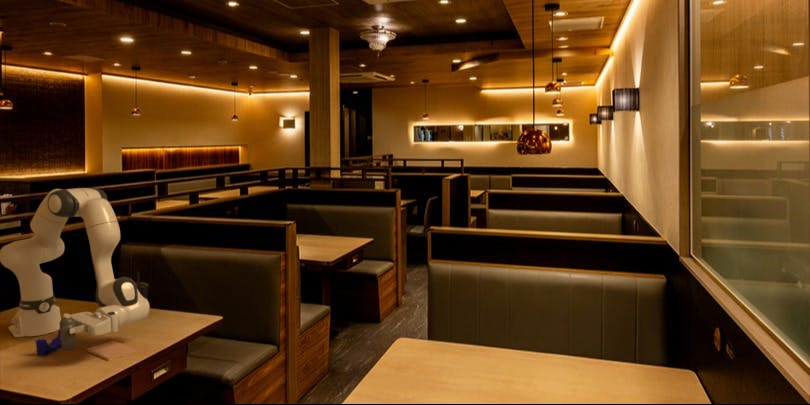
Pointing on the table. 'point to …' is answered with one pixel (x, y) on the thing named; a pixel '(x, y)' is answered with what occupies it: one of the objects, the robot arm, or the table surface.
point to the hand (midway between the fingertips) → (64, 329)
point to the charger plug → (66, 338)
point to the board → (111, 350)
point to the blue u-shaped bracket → (48, 346)
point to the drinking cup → (142, 287)
